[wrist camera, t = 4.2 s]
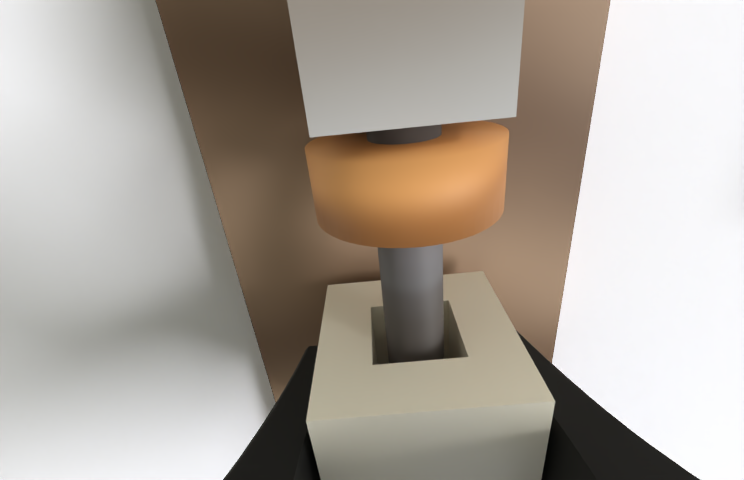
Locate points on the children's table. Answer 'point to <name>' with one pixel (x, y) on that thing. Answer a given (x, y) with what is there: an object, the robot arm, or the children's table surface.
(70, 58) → the children's table surface
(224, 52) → the rod board
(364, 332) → the sleeve
